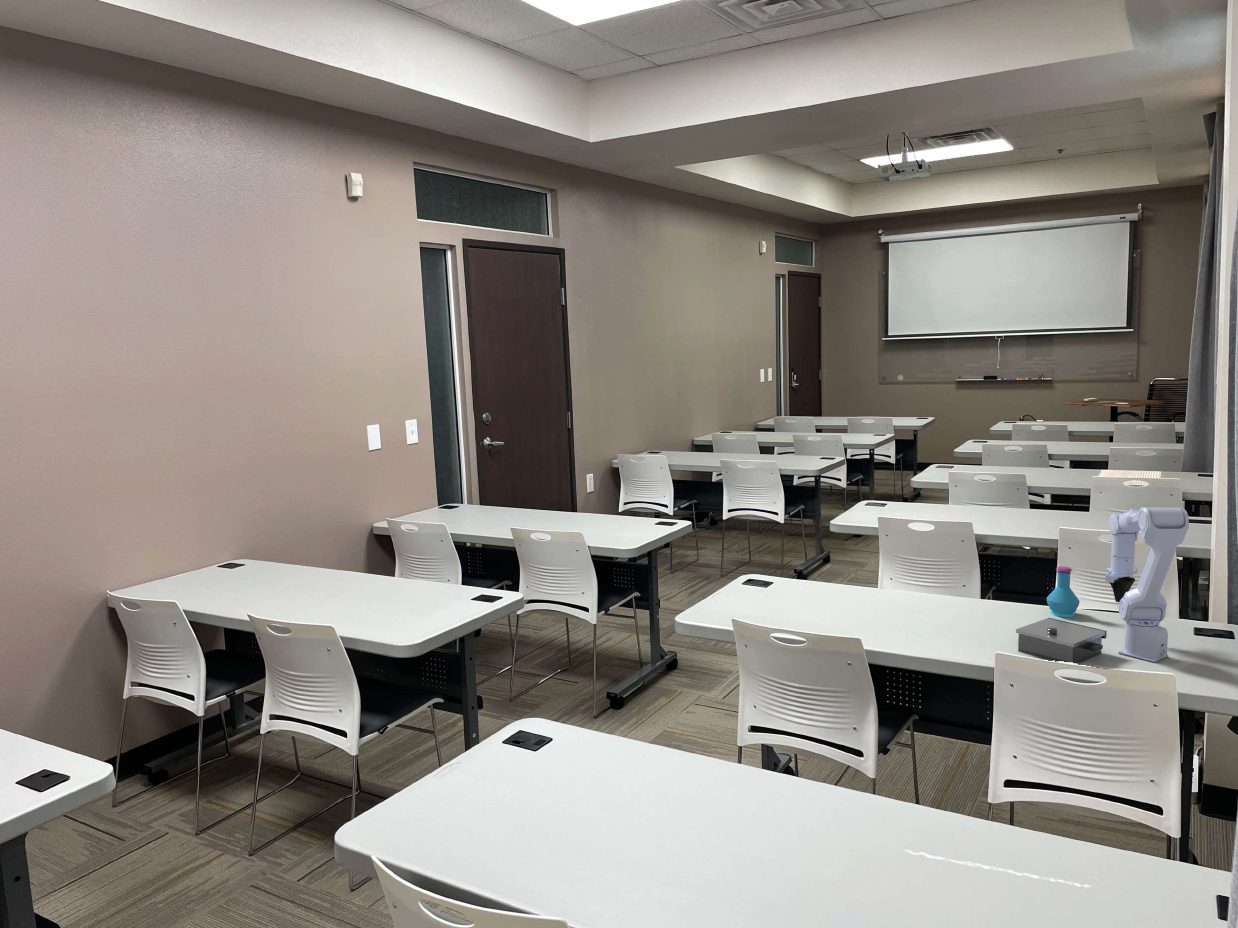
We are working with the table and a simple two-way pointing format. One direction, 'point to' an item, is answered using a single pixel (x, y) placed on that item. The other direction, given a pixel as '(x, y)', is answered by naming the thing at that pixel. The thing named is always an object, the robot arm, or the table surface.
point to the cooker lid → (1061, 632)
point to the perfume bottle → (1063, 595)
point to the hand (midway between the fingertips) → (1120, 601)
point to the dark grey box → (1059, 649)
